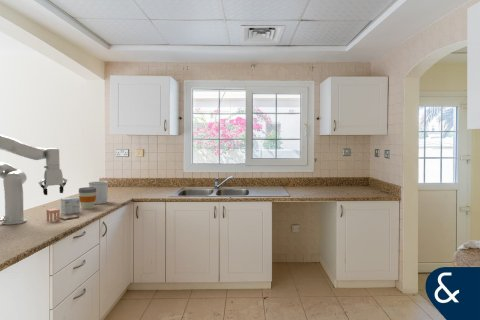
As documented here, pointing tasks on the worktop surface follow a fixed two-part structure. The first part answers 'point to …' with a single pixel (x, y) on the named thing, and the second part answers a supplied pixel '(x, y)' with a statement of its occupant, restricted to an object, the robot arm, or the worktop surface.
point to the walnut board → (68, 217)
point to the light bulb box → (70, 205)
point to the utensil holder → (100, 191)
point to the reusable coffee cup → (87, 197)
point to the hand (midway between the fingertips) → (53, 193)
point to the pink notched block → (53, 211)
